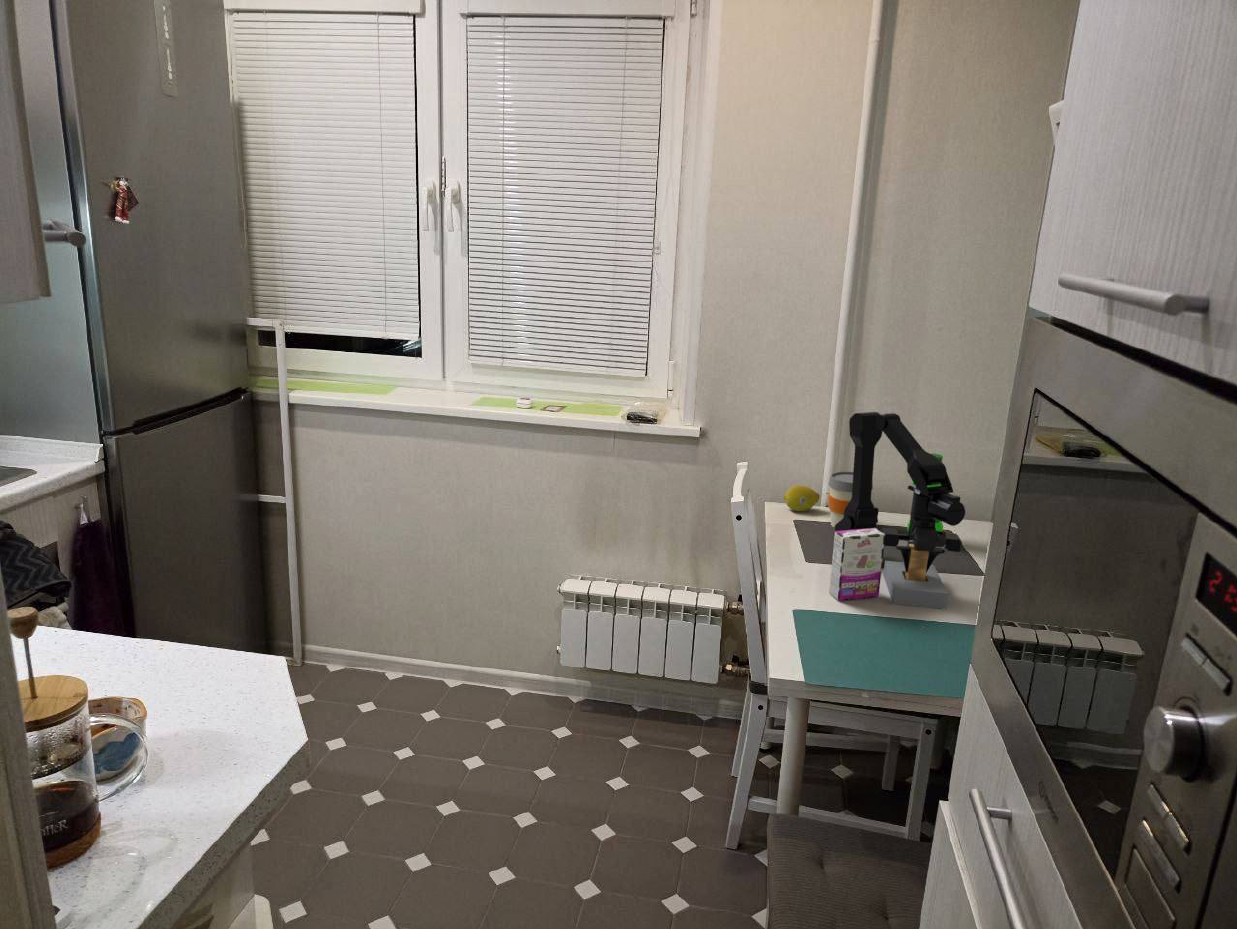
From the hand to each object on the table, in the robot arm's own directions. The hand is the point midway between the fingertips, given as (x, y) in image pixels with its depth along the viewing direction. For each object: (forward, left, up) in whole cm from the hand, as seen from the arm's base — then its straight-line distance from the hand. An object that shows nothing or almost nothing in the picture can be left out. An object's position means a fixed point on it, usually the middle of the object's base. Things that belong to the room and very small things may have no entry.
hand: (915, 572), depth 221 cm
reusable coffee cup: (-12, +46, -5) cm, 48 cm away
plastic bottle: (+9, +39, -5) cm, 40 cm away
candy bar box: (-15, -6, -5) cm, 17 cm away
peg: (0, 0, -4) cm, 4 cm away
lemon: (-25, +57, -5) cm, 62 cm away
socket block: (0, 0, -5) cm, 5 cm away
